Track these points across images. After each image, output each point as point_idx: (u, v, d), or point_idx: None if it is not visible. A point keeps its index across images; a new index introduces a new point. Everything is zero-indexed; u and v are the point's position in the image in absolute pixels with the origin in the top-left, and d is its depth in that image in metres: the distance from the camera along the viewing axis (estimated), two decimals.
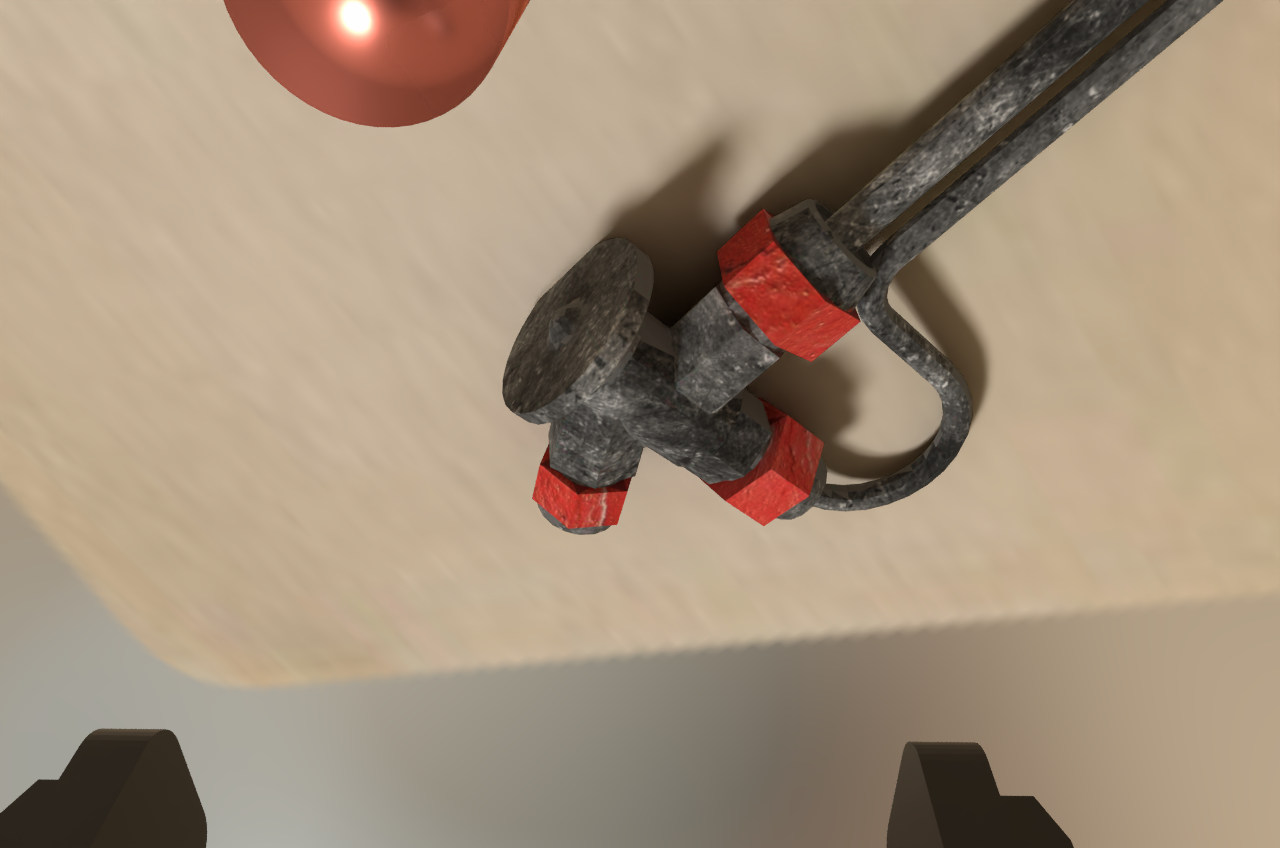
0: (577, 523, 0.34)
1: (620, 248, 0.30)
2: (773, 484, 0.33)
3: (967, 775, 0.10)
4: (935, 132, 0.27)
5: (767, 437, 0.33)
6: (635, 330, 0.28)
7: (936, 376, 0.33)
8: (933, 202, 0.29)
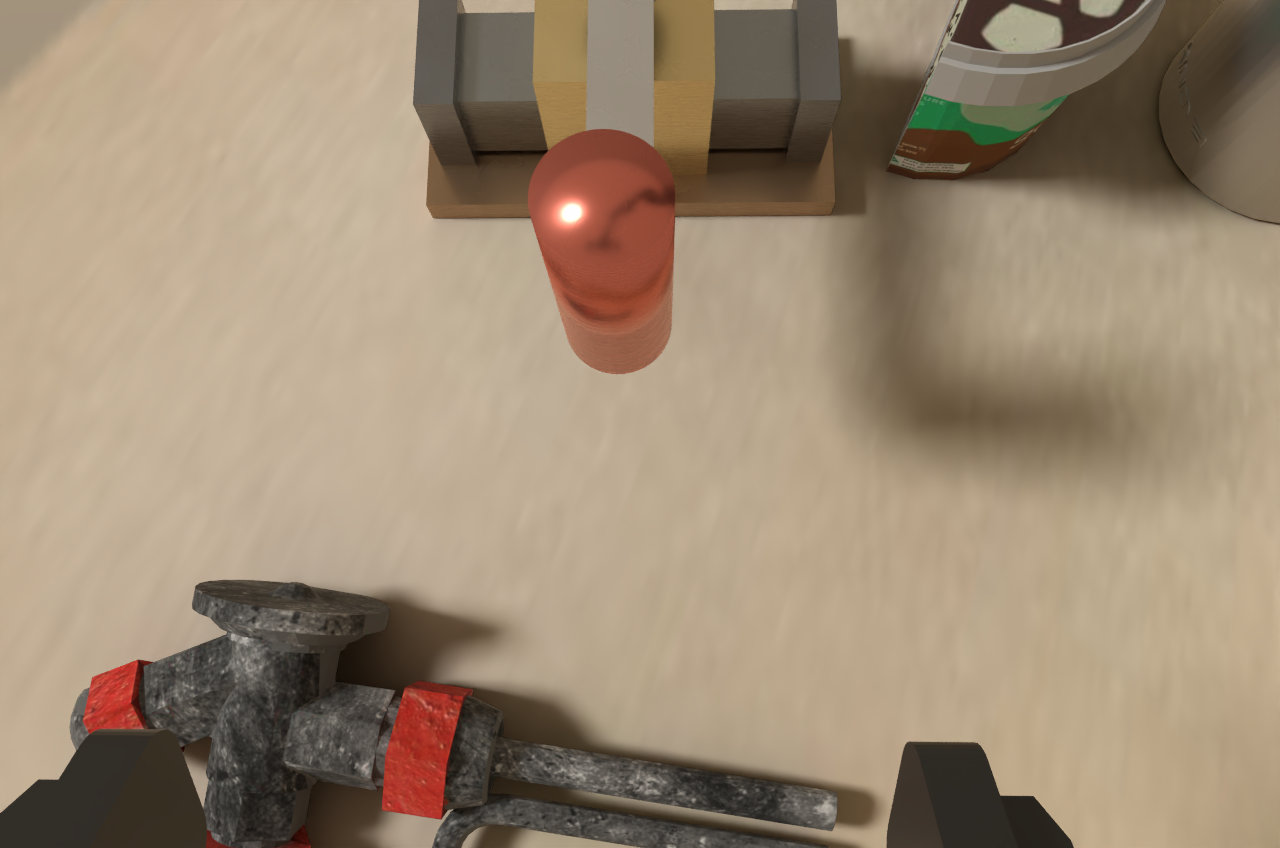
0: (93, 726, 0.32)
1: (378, 604, 0.35)
2: None
3: (967, 775, 0.10)
4: (607, 757, 0.34)
5: (282, 838, 0.32)
6: (335, 633, 0.32)
7: None
8: (560, 803, 0.33)
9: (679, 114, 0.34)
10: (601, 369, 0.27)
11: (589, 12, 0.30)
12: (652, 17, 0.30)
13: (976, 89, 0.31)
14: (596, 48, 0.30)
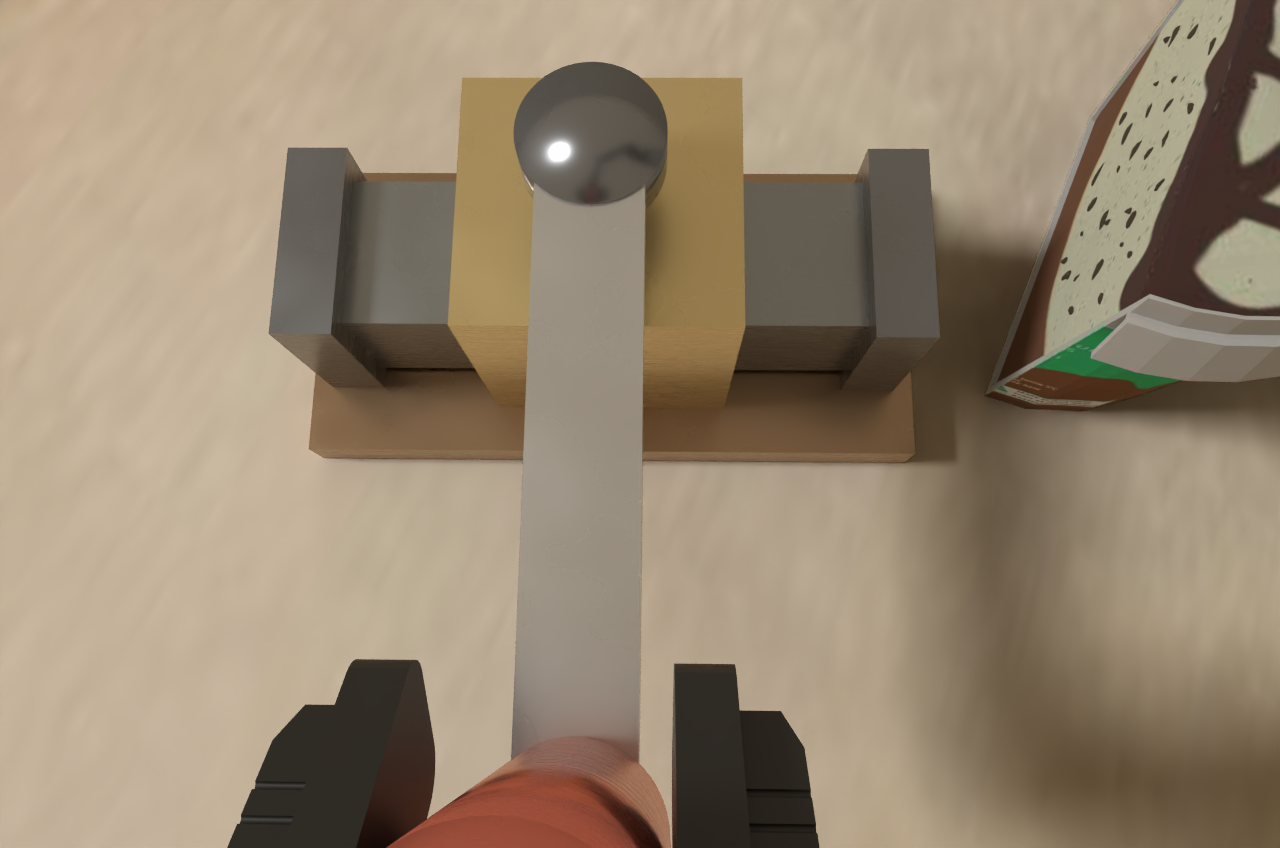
0: None
1: None
2: None
3: (714, 690, 0.11)
4: None
5: None
6: None
7: None
8: None
9: (685, 357, 0.22)
10: None
11: (534, 239, 0.17)
12: (642, 250, 0.17)
13: (1184, 362, 0.19)
14: (544, 304, 0.17)
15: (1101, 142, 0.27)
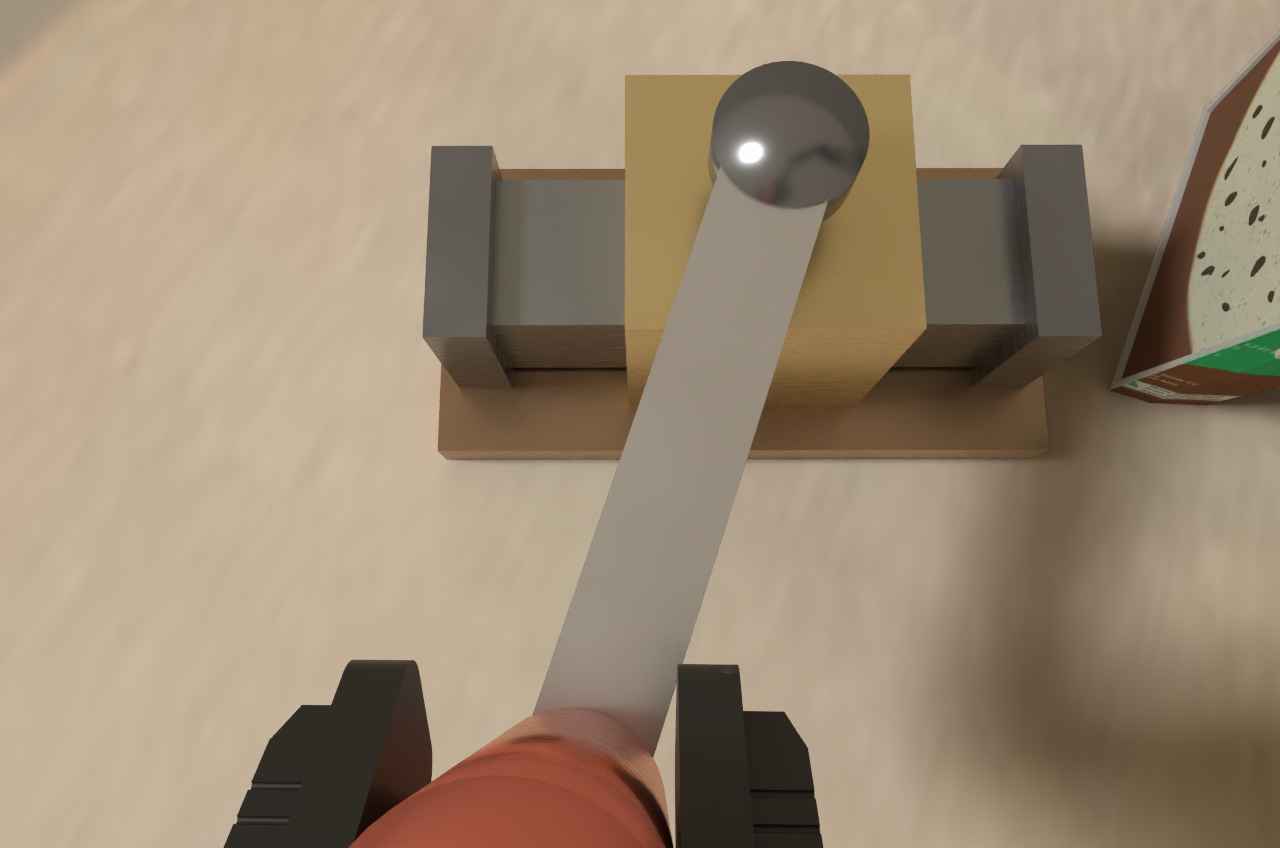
0: None
1: None
2: None
3: (718, 690, 0.11)
4: None
5: None
6: None
7: None
8: None
9: (848, 358, 0.22)
10: None
11: (704, 221, 0.17)
12: (806, 264, 0.17)
13: None
14: (695, 287, 0.17)
15: (1228, 135, 0.27)
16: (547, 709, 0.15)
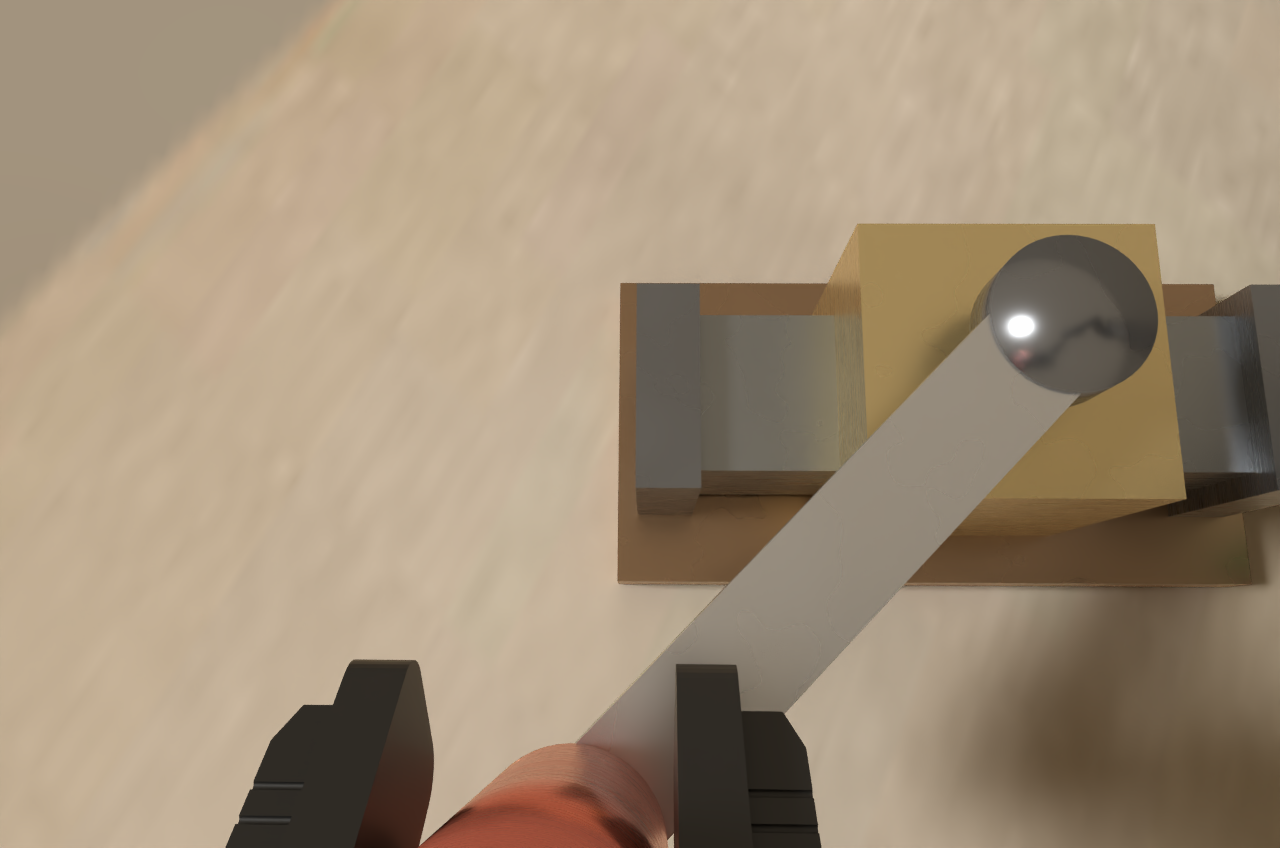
0: None
1: None
2: None
3: (716, 690, 0.11)
4: None
5: None
6: None
7: None
8: None
9: (1079, 513, 0.21)
10: None
11: (949, 359, 0.17)
12: (1029, 446, 0.16)
13: None
14: (911, 418, 0.16)
15: None
16: (592, 745, 0.15)
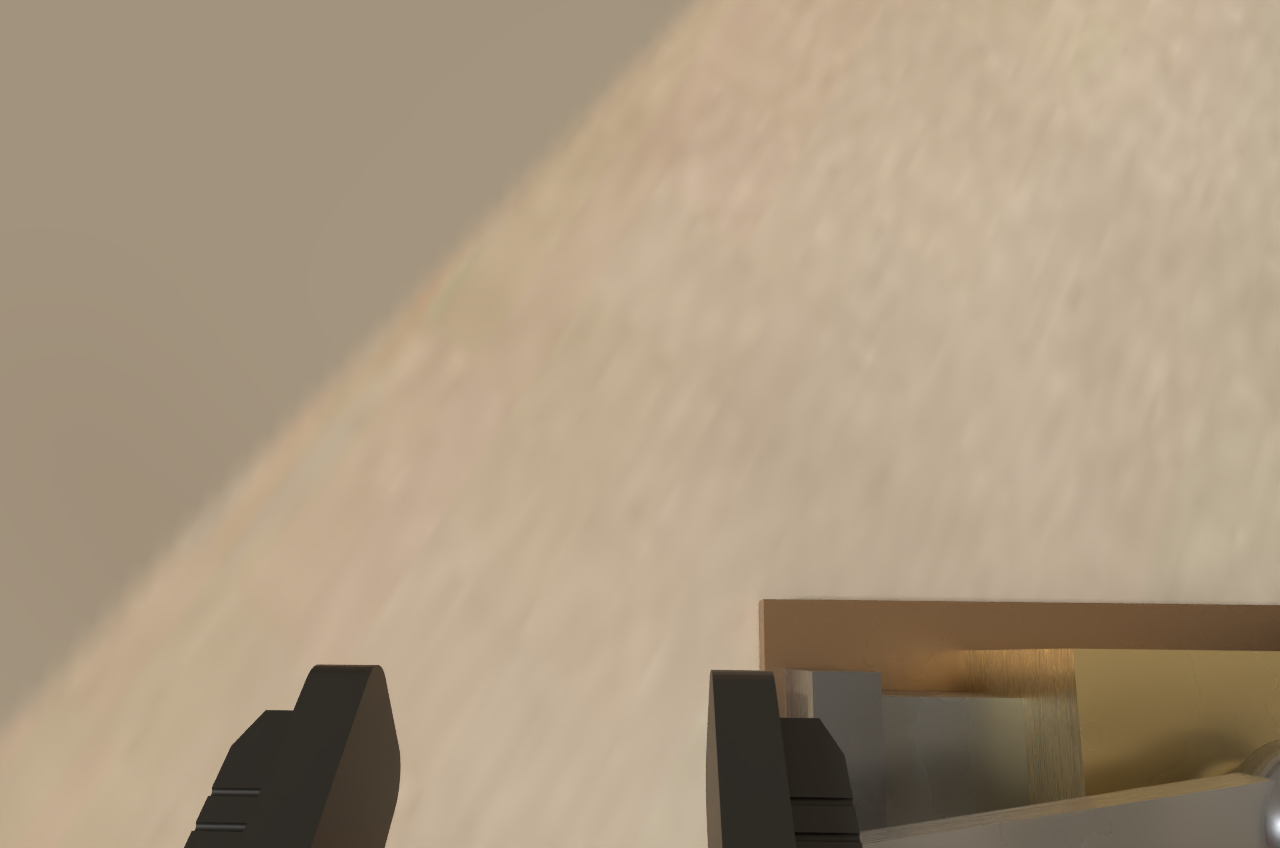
0: None
1: None
2: None
3: (753, 697, 0.11)
4: None
5: None
6: None
7: None
8: None
9: None
10: None
11: (1206, 794, 0.15)
12: None
13: None
14: (1133, 821, 0.15)
15: None
16: None
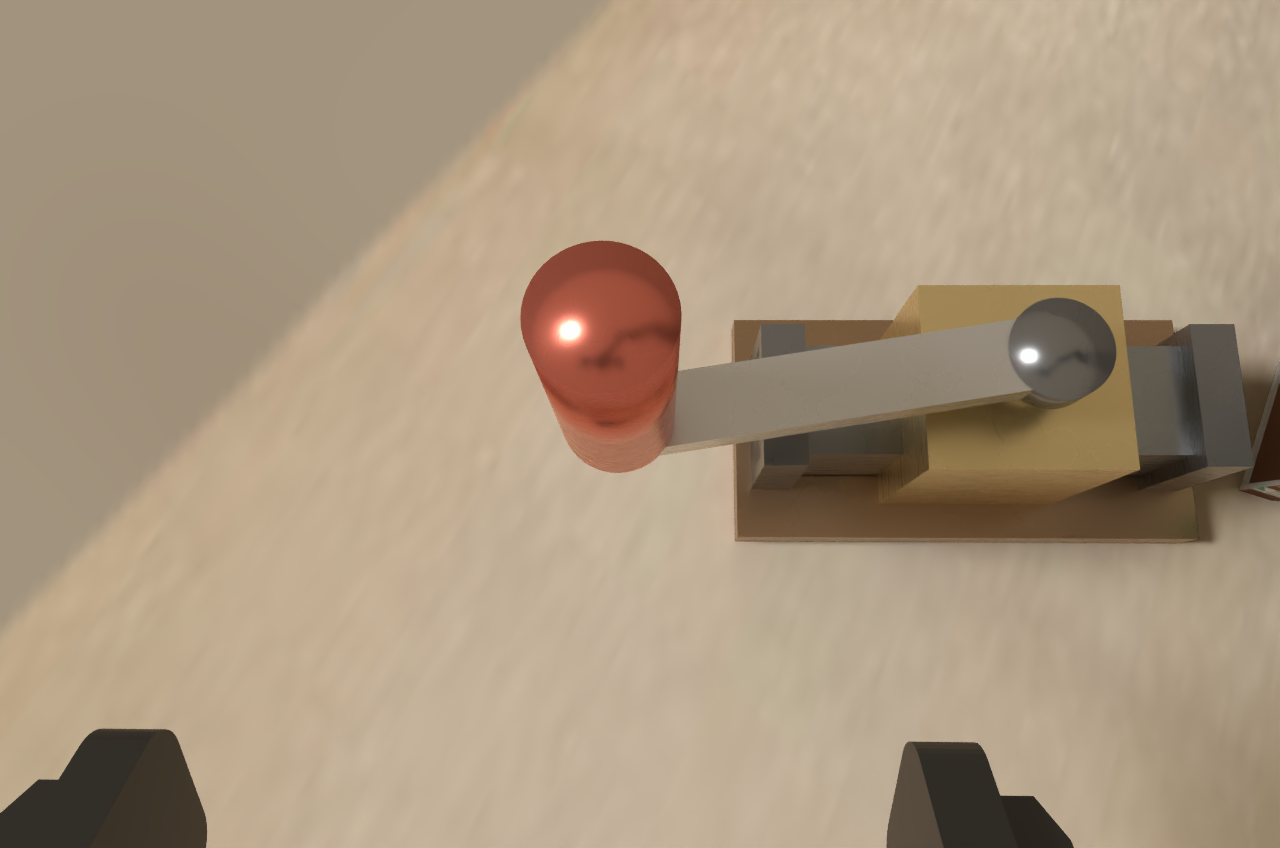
0: None
1: None
2: None
3: (967, 775, 0.10)
4: None
5: None
6: None
7: None
8: None
9: (1070, 482, 0.30)
10: None
11: (976, 326, 0.27)
12: (986, 395, 0.26)
13: None
14: (934, 341, 0.26)
15: None
16: None
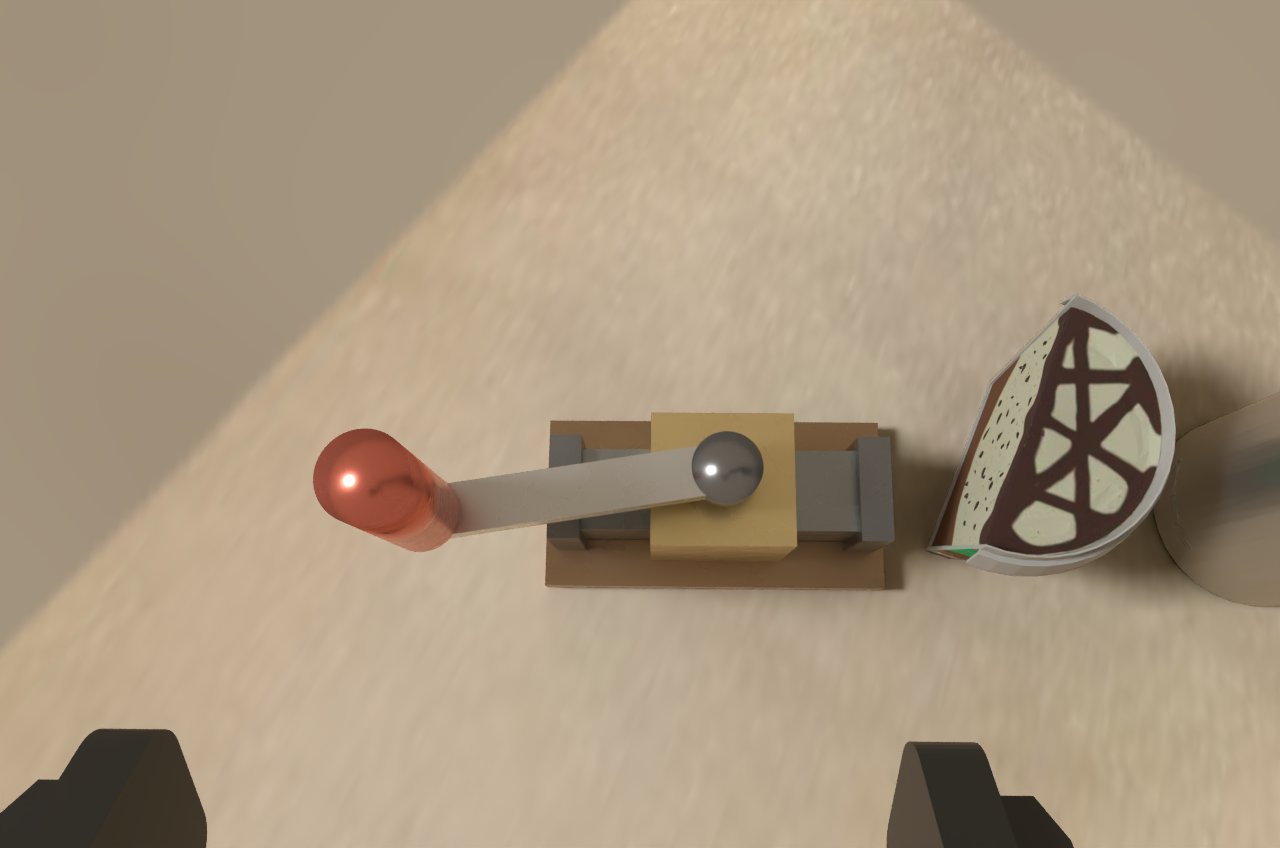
0: None
1: None
2: None
3: (967, 775, 0.10)
4: None
5: None
6: None
7: None
8: None
9: (763, 551, 0.42)
10: None
11: (670, 451, 0.39)
12: (673, 499, 0.38)
13: (1007, 569, 0.39)
14: (641, 461, 0.39)
15: (991, 409, 0.47)
16: (452, 487, 0.38)
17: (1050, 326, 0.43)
